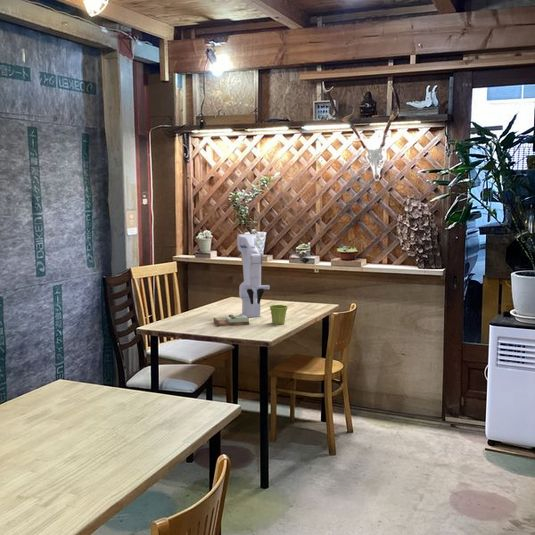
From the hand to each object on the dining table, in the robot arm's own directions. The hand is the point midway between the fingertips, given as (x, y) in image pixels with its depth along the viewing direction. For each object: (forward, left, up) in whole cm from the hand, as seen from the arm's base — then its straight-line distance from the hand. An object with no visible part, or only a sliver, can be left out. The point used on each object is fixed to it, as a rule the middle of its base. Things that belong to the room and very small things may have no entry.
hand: (255, 303), depth 310 cm
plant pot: (-10, +6, -10) cm, 15 cm away
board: (+13, 0, -9) cm, 16 cm away
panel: (+10, 0, -8) cm, 12 cm away
